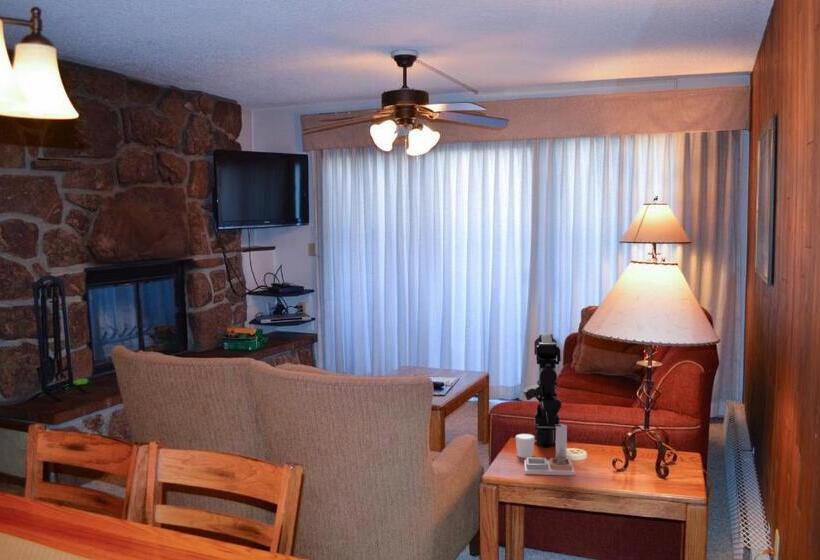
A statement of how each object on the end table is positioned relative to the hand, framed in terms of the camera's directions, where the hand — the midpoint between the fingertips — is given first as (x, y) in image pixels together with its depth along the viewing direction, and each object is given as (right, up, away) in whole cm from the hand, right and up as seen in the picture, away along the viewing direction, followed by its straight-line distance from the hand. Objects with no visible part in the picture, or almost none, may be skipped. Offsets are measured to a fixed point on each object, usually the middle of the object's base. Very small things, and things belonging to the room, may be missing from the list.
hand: (547, 421), depth 259 cm
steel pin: (+2, -13, -11) cm, 17 cm away
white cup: (-7, -13, +4) cm, 15 cm away
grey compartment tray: (-2, -14, -10) cm, 18 cm away
